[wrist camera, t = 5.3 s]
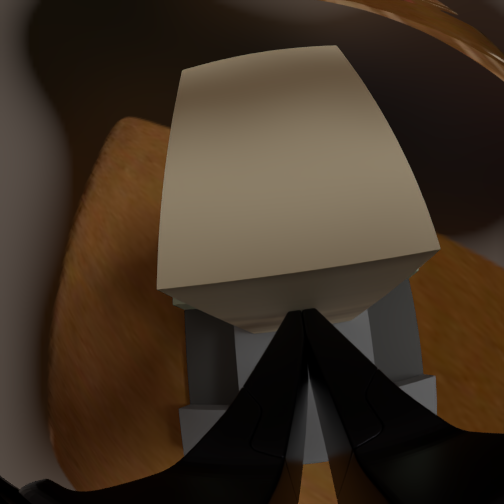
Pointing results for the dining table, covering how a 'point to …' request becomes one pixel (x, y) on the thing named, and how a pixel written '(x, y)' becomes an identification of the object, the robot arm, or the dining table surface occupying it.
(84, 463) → the dining table surface
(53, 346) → the dining table surface
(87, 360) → the dining table surface
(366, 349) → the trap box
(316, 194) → the maple block
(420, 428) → the robot arm
